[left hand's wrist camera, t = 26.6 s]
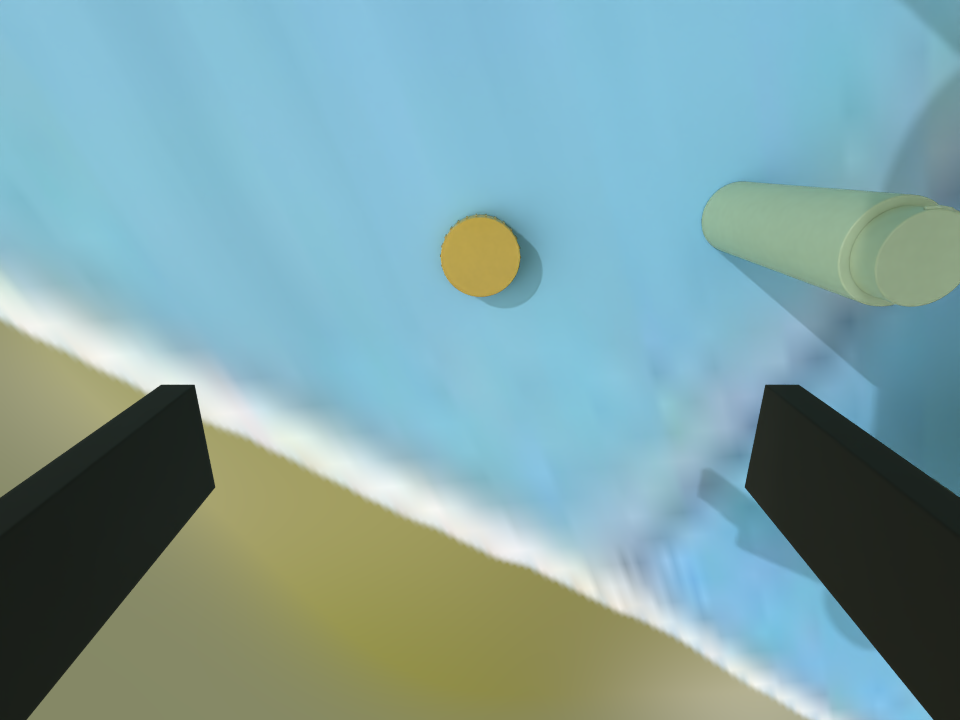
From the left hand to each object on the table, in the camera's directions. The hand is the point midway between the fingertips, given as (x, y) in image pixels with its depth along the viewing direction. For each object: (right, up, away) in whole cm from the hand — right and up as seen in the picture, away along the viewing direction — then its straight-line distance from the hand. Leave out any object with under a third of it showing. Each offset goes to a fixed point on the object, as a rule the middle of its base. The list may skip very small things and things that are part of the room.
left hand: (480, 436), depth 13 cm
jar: (+18, +12, +25) cm, 33 cm away
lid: (0, +9, +25) cm, 26 cm away
